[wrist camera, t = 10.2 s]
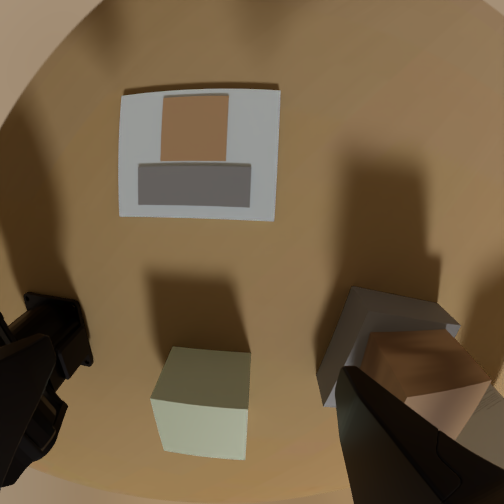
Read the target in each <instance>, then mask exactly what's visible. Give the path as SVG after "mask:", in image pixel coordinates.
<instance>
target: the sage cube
mask: <svg viewBox="0 0 504 504" xmlns="http://www.w3.org/2000/svg"><path fill="white" fill-rule="evenodd" d="M250 363H251V353H245V352H229V351H216V350H204V349H193V348H184V347H174V346H173V347H172V349H171V351H170V353H169V356H168V358H167V360H166V363H165V365H164V367H163V370H162V372H161V374H160V376H159V379H158V381H157V384H156V386H155V388H154V391H153V393H152V395H151V398H150V400H151V404H152V408H153V412H154V416H155V420H156V424H157V427H158V431H159V435H160V438H161V442H162V445H163V448H164V451H169V452H175V453H181V454H188V455H195V456H203V457H212V458H223V459H236V460H245V453H246V437H247V420H248V402H249V383H250Z"/></svg>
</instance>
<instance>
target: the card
mask: <svg viewBox="0 0 504 504" xmlns="http://www.w3.org/2000/svg"><path fill="white" fill-rule="evenodd" d="M279 116H280V90H262V89H191V90H174V91H161V92H150V93H141V94H133V95H125V96H122V98H121V111H120V128H119V163H118V180H119V216H120V217H174V218H207V219H233V220H255V221H274V215H275V198H276V180H277V160H278V139H279Z"/></svg>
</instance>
